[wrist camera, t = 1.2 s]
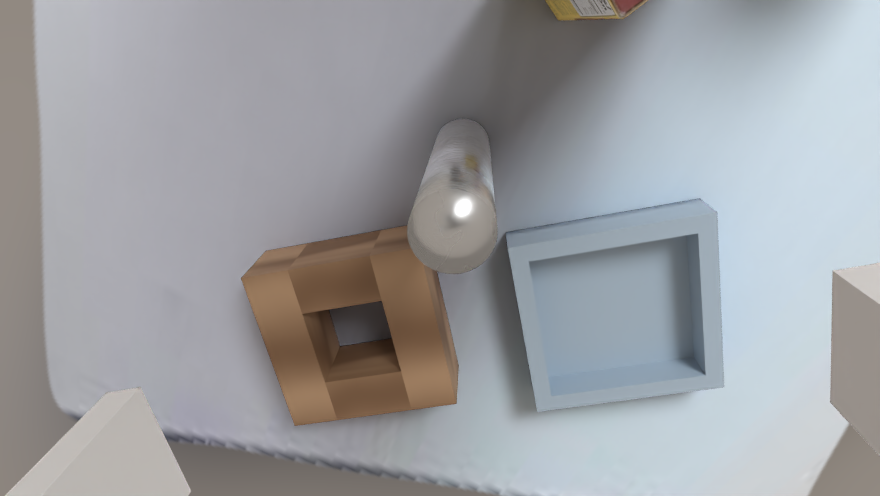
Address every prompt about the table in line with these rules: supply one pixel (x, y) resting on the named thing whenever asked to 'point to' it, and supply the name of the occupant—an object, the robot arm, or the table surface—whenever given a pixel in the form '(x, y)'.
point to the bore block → (365, 364)
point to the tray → (620, 305)
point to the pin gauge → (455, 202)
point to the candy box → (593, 9)
